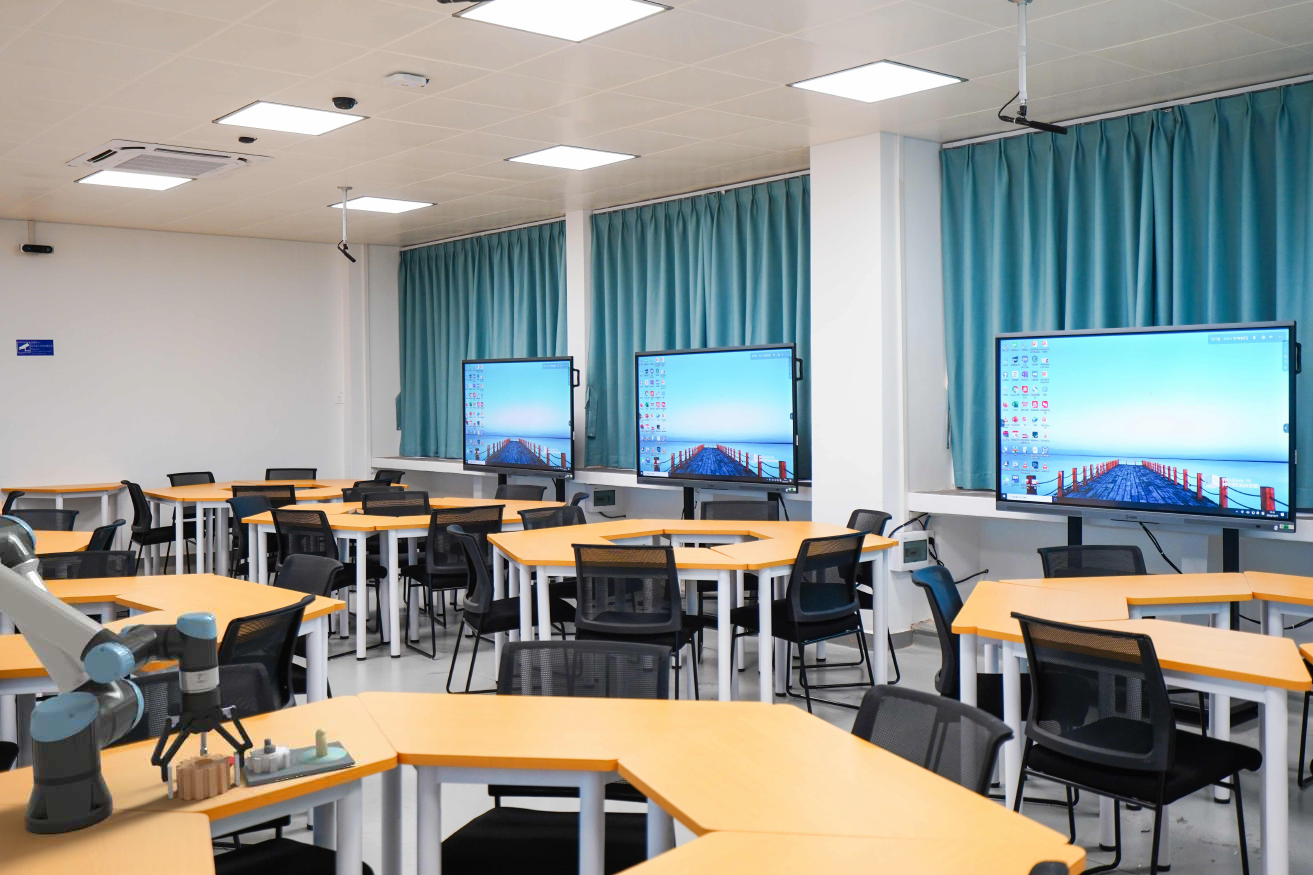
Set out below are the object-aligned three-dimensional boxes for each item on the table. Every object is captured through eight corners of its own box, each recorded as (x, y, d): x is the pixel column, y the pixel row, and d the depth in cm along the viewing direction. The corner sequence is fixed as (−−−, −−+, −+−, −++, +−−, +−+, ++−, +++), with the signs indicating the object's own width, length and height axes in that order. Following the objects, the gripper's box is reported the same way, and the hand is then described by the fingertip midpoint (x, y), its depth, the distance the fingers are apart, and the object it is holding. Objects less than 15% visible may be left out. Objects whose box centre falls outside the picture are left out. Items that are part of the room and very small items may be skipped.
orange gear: (179, 803, 211) (178, 774, 211) (175, 787, 220) (174, 759, 220) (233, 793, 216) (232, 764, 216) (227, 777, 225) (226, 750, 225)
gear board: (249, 786, 220) (247, 752, 219) (238, 763, 234) (237, 731, 233) (355, 765, 230) (353, 733, 230) (339, 745, 244) (337, 714, 244)
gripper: (135, 702, 208) (140, 808, 209) (264, 682, 220) (268, 782, 221) (133, 693, 215) (138, 795, 216) (258, 674, 226) (263, 772, 227)
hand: (204, 789), depth 218 cm, fingers open, 12 cm apart
